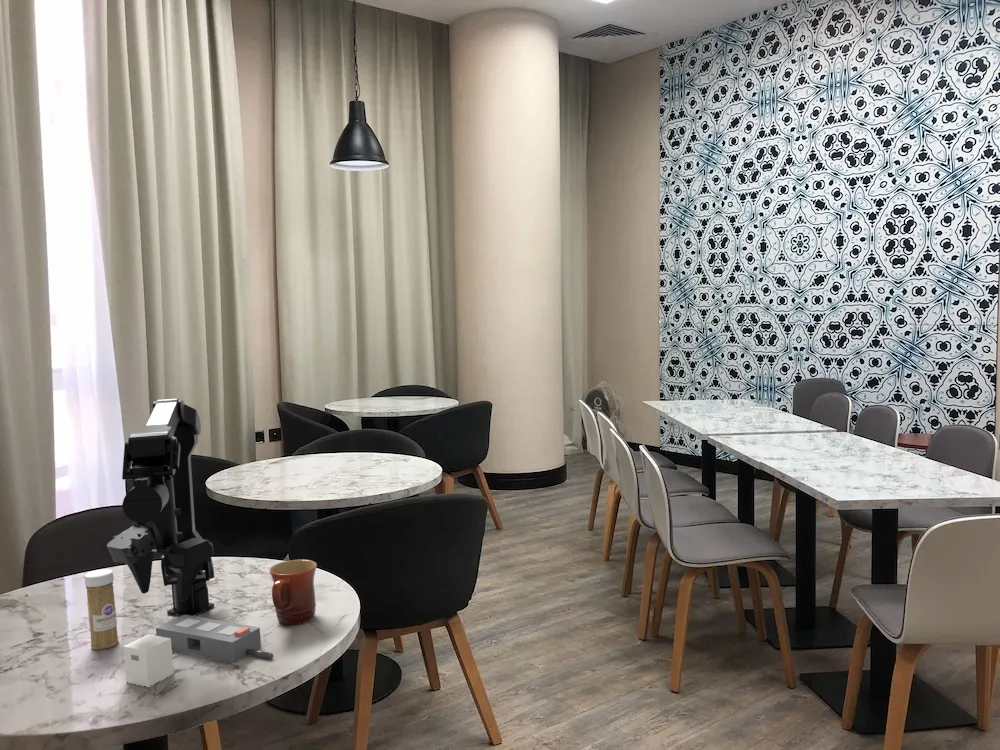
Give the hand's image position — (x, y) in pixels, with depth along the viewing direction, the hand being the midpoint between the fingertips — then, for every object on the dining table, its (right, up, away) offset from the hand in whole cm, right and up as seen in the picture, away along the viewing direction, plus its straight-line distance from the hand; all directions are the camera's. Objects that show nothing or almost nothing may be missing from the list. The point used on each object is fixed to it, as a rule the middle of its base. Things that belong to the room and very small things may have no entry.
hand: (164, 596), depth 134 cm
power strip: (+8, -11, +5) cm, 14 cm away
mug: (+18, -10, +16) cm, 25 cm away
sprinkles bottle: (-14, -12, +9) cm, 21 cm away
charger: (0, -12, -4) cm, 12 cm away
